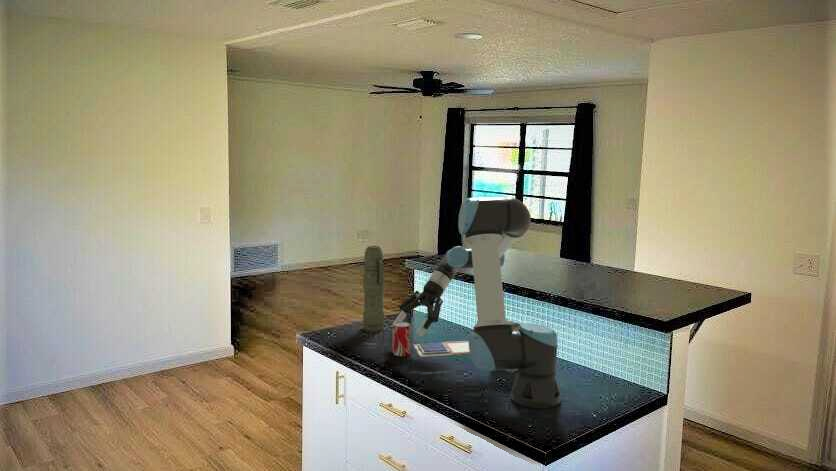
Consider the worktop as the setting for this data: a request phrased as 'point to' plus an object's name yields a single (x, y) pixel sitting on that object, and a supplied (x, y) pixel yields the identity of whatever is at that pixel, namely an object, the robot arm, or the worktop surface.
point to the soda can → (402, 339)
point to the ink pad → (433, 348)
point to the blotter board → (431, 354)
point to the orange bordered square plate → (457, 347)
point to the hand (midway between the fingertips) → (406, 330)
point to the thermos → (373, 290)
